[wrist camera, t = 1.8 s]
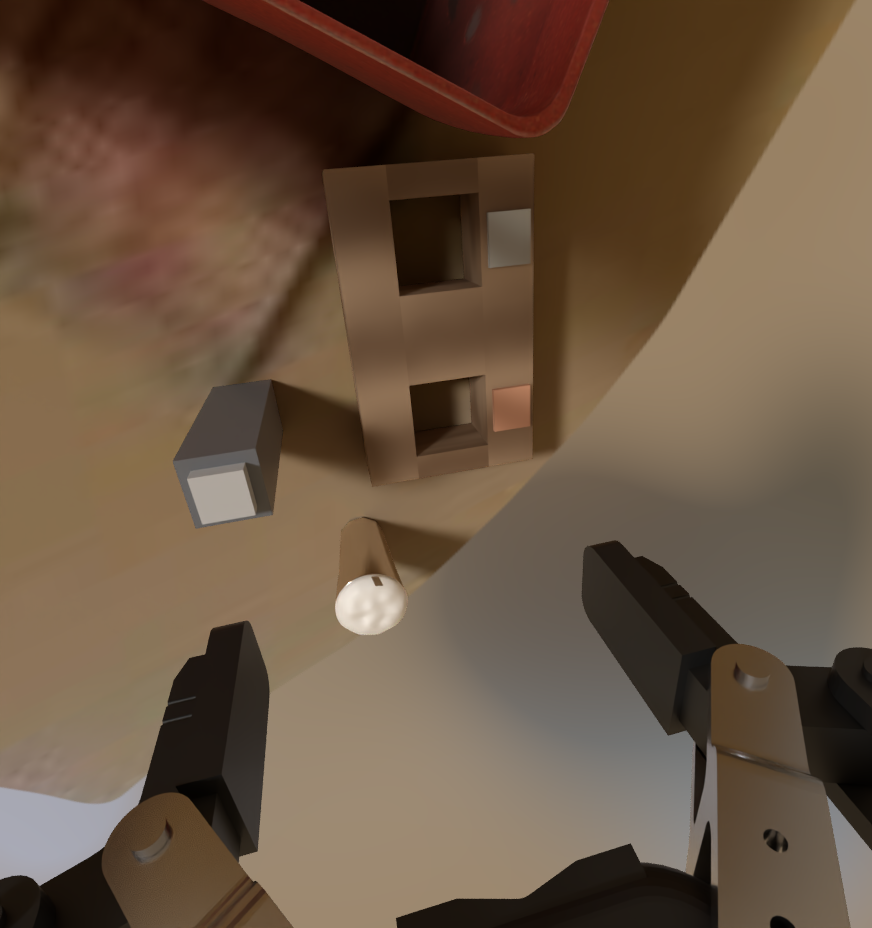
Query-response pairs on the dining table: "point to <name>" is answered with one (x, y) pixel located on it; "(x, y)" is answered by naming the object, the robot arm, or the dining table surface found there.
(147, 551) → the dining table surface
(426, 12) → the plant pot
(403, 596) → the milkshake
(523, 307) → the port deck
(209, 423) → the plug
